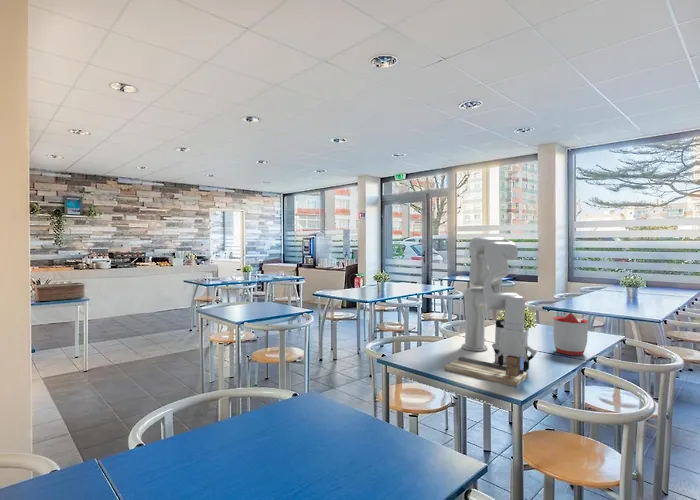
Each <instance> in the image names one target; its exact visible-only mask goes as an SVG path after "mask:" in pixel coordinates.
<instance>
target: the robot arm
mask: <svg viewBox="0 0 700 500" xmlns="http://www.w3.org/2000/svg"><path fill="white" fill-rule="evenodd" d="M468 250H469V254H470V265H469V277H468V278H469V279H468V280H469V283H470V284H471V285H472V286H470V287H468V288H466V289H465V290H464V294H463V295H464V296H463V297H464V304H465V307H464V308H465V332H464V333H465V335H464V343H463V344H462V345H461V348H462V349H464V350H467V351H471V352H472V351H473V352H485V351H487V350H488V346H487V345H485V342H486V341H487V340H486V338H485V330H486V329H485V327H486V322H485V321H486V318H485V317H486V315H485V312H484V310H483V309H482V308H481V307H487V309H488V310H490V311H504V317H503V318H504V322H501V325H504V328H502V331H501V336H500V342H497V343H495V342H494V343H492V344H491V346H492V349H493V351H494V354H495V353H496V354H497V356H498V365H499V366H500V367H501V366H502V365H503V359H504V356H503V354H508V355H514V356H519V357H520V358H523V360H524V361H523V371H524V372H527V371H528V370H529V368H530V361H531V360H532V359H533V358H534V357H535V356H536V354H537V351H536V350H535V349H534V348H532V347H531V346H529V345H528V336H527V335H528V334H527V330H525V314H526V313H525V311H526V309H525V308H526V306H525V305H526V299H525V297H524V296H521V295H519V294H518V293H516V292H504V291H503V292H501V291H502V284H503V279H505V278H506V277H507V276H509V274H510V267H509V264H508V261H515V260H516V259H517V258H518V255H519V250H518V247H517V245H516V243H515V242H513V241H512V240H510V239H507V238H505V237H496V236H495V237H493V236H492V237H490V236H489V237H487V236H486V237H485V236H481V237H479V236H478V237H473V238H471V239H470V241H469V245H468ZM498 345H499V350H498V349H497V346H498ZM528 352H529V353H530V355H528ZM503 366H504V365H503Z"/></svg>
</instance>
